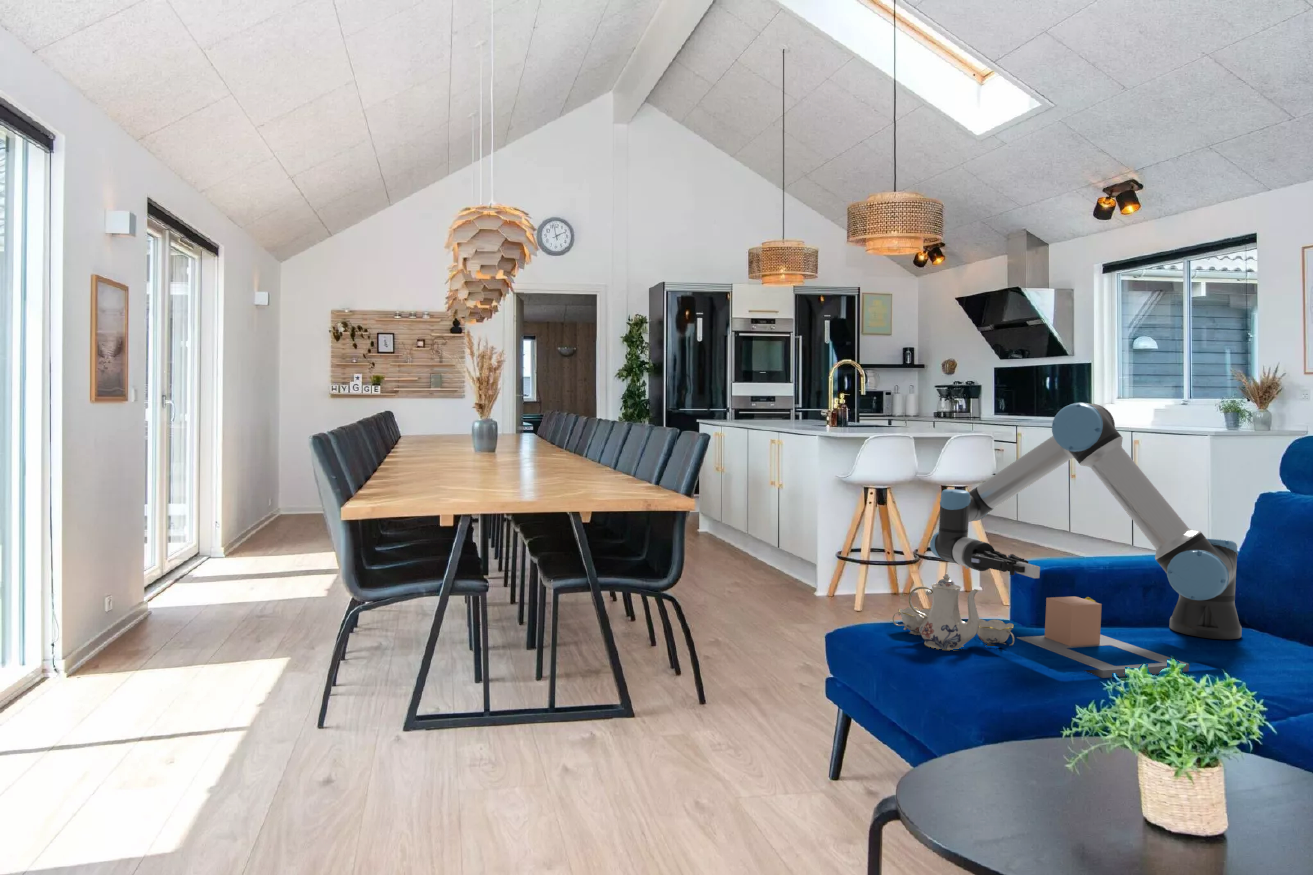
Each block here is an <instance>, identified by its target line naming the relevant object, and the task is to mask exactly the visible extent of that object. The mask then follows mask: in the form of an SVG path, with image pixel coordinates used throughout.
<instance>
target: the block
mask: <svg viewBox="0 0 1313 875" xmlns="http://www.w3.org/2000/svg"><path fill="white" fill-rule="evenodd" d="M1045 601H1046V602H1045V605H1046V606H1045V621H1044V622H1045V623H1044V636H1045V637H1046V638H1049V639H1052V640H1054V641H1057V642H1060V643H1063V644H1065V645H1068V646H1081V645H1097V644H1100V634H1101V628H1102V627H1101V624H1102V605H1103V604H1102V603H1099V602H1097V601H1095V602H1093V601H1089V600H1086V599H1085V598H1081V597H1079V596H1055V597H1054V596H1053V597H1052V596H1051V597H1046V599H1045Z"/></svg>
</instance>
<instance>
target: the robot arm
mask: <svg viewBox="0 0 1313 875" xmlns="http://www.w3.org/2000/svg"><path fill="white" fill-rule="evenodd" d="M1114 419H1115V418H1114V417H1113V415H1112V414H1111V412H1110V411H1109V410H1108V409H1107V408H1106V407H1104V406H1102V405H1101V404H1100V405H1099V404H1096V403H1087V402H1081V401H1079V402H1074V403H1070V404H1069V405H1066V406H1063V408H1061V409H1060V410H1059V411H1058V412H1056V415H1054V418H1053V420H1052V422H1051V433H1052V436H1050V437H1049V438H1047V439H1046V440H1044V441H1043V442H1042V443H1040V444H1039V445H1037V446H1036V447H1034V448H1032V449H1031V450H1030V451H1028V452H1027V453H1025V454H1023V455H1022V456H1020V457H1019V458H1018V459H1016V460H1015V461H1014V462H1012V463H1010V464H1009V465H1007V466H1005V467H1004V468H1003V469H1001V470H1000V471H998V472H997V473H995V474H994V475H993V476H991V477H989V478H988V479H986V480H985V481H983V482H982V483H979V485H978V486H976V487H975V488H972V490H970V491H968V490H964V489H955V488H953V489H951V488H950V489H949V488H947V489H943V490H942V491H941V493H940V500H939V524H938V525H939V526H938V531H937V532H935V533H934V534H933V536H932V538H931V540H930V543H929V544H930V545H929V547H930V550H931V551H930V552H932V554H933V555H934V556H935V557H936V558H939V559H941V560H942V561H945V562H950V563H953V564H957V565H960V566H963V567H964V568H965V569H966V570H968V569H972V570H975V571H978V572H986V571H988V570H989V569H991V570H995V571H999V572H1004V573H1007V572H1009V575H1010V576H1015V574H1019V575H1021V576H1025V577H1029V578H1032V579H1040V573H1041V566H1038V565H1035V564H1031V563H1029V560H1026V559H1025V558H1023V557H1018V556H1016V554H1014V553H1010V554H1009V555H1007V554H1005V553H1001V552H1000V551H998V550H995V548H994V546H993V545H991V544H990V543H988V542H986V541H982V540H978V539H975V538H972V537H968V535H969V534H968V533H969V522H970V523H971V522H977V521H980V520H982V519H983V518H985V517H986V516H987V515H988V514H989V513H990V512H992V511H993V510H994V509H996V508H997V507H999V506H1000V505H1003V504H1004V503H1005V502H1006V501H1008V500H1010V499H1011V498H1013V497H1014V496H1016V495H1017V494H1019V493H1021V492H1022V491H1024V490H1025V489H1026V488H1028V487H1030V486H1032V485H1033V484H1035V483H1036V482H1038V481H1039V480H1041V479H1043V478H1044V477H1045V476H1047V475H1048V474H1050V473H1052V472H1053V471H1055V470H1057V469H1058V468H1059V467H1061V466H1062V465H1065V463H1067V462H1068V461H1071V459H1075V460H1076V462H1077V463H1078V465H1080V466H1082V467H1088V468H1090V469H1091V470H1092V471H1093V473H1094V474H1095V475H1096V476H1097V478H1098V479H1099V480H1100V481H1101V483H1102V484H1103V485H1104V486H1105V487H1106V489H1107V490H1108V491H1109V493H1110V494H1111V495H1112V496H1113V498H1114V499H1115V500H1116V501H1117V503H1118V504H1119V505H1120V506H1121V507H1122V508H1123V510H1124V511H1125V512H1126V513H1127V514H1128V516H1129V517H1130V519H1131V520H1132V521H1133V522H1134V524H1136V526H1137V527H1138V529H1139V530H1140V531H1141V532H1142V533H1143V535H1144V536H1145V537H1146V539H1147V540H1148V541H1149V542H1150V544H1151V545H1152V546H1153V547H1154V549H1155V556H1154V559H1155V562H1157V563H1158V564H1159V566H1160V567H1161V568H1162V570H1163V571H1164V572H1165V574H1166V577H1167V580H1168V582H1169V585H1170V586H1171V587H1172V589H1173V590H1174V591H1175V592H1176V593H1177V594H1178V599H1177V602H1176V605H1175V606H1174V609H1173V612H1172V615H1171V616H1170V618H1169V626H1168V627H1169V629H1170V630H1172V631H1174V632H1176V633H1180V634H1183V635H1188V636H1193V637H1197V638H1204V639H1210V640H1211V639H1212V640H1237V639H1240V638H1242V632H1243V628H1242V625H1241V623H1240V621H1239V616H1238V612H1237V608H1236V603H1235V600H1236V582H1237V580H1236V578H1237V562H1238V557H1239V552H1238V544H1237V542H1235V541H1233V540H1228V539H1221V538H1220V539H1217V538H1207V537H1206V536H1205V535H1204V534H1203V532H1202V531H1201V530H1195V529H1191V528H1189V527H1188V526H1187V524H1186V523H1185V521H1184V520H1182V518H1181V517H1180V516H1179V514H1178V513H1177V512H1176V511H1175V510H1174V508H1173V507H1172V506H1171V505H1170V503H1169V502H1168V501H1167V500H1166V499H1165V498H1164V496H1163V495H1162V494H1161V493H1160V491H1159V490H1158V489H1157V488H1156V486H1154V484H1153V483H1152V482H1151V481H1150V478H1148V477H1147V475H1145V473H1144V472H1143V470H1142V469H1141V468H1140V467H1139V466H1138V464H1136V462H1135V461H1134V460H1133V459H1132V457H1131V456H1130V455H1129V454H1128V453H1127V451H1126V450H1125V449H1124V448H1123V446H1122V444H1123V436H1122V435H1121V433H1119V430H1117V428H1116V424H1115V420H1114Z"/></svg>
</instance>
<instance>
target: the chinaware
mask: <svg viewBox="0 0 1313 875" xmlns="http://www.w3.org/2000/svg"><path fill="white" fill-rule="evenodd" d="M930 586H931V587H929V586H917V587H915V588H913V589H912V590H911V591H910V592H909V594H908V599H907V601H908V605H909V606H908V607H906V608H904V609H903V608H898V609H897V611H898V612H896V613H894V614H893V615H892V623H893V624H894V625H895V626H897V627H901V626H902V627H903V626H904V628H903V631H907V630H909V631H910V632H909V634H912V635H914V636H917V635H918V636H921V638H922V639H923V640H924V643H923V644H924V646H925V647H928V648H930V647H931V649H934V648H936V649H935V650H939V649H942V650H941V651H950V650H953V649H959V648H961V647H964V645H965V644H967V643H968V642H969V641H971V640H972V639H973V638H974V637H975V636H978V638H979V639H980V640H981V641H982V642H983V643H984V644H985V645H986V644H987V646H998V645H997V644H1004V645H1007V643H1005V642H1006V641H1007V640H1008V639H1009V637H1011V638H1012V641H1011V644H1010V646H1013V645H1014V643H1015V635H1014V634H1013V632H1012V630H1013V629H1014V624H1013V623H1011V622H1009V623H1005V622H1003V621H1002V620H1000V619H990V620H986V619H985V620H984V619H983V618H982V619H980V616H979V611H978V609H977V605H976V600H975V596H976V594H977V593H978V592H979V591H980V590H979V589H975V588H973V589H972V590H971V591H970V592H969V593H968V594H967V599H966V600H967V602H966V603H967V612H968V620H967V621H963V620H962V616H961V613H960V607H959V605H960V604H959V598H960V597H959V596H960V591H961V589H962V586H960V585H957V584H955V582H954V580H952V579H951V577H950V576H949V574H948V573H945V574H944V576H942V579H939V580H938V582H937V583H931V585H930ZM919 590H927V591H925V595H926V596H931V595H932V604H931V606H930V608H922V609H920V608H918V607H915V606H914V605H913V602H912V597H913V594H914V593H916V591H919ZM897 614H898V616H899V617H901V620H902V624H898V623H897V622H895V620H894V619H895V616H896V615H897ZM1010 635H1011V636H1010ZM953 651H954V650H953Z"/></svg>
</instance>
